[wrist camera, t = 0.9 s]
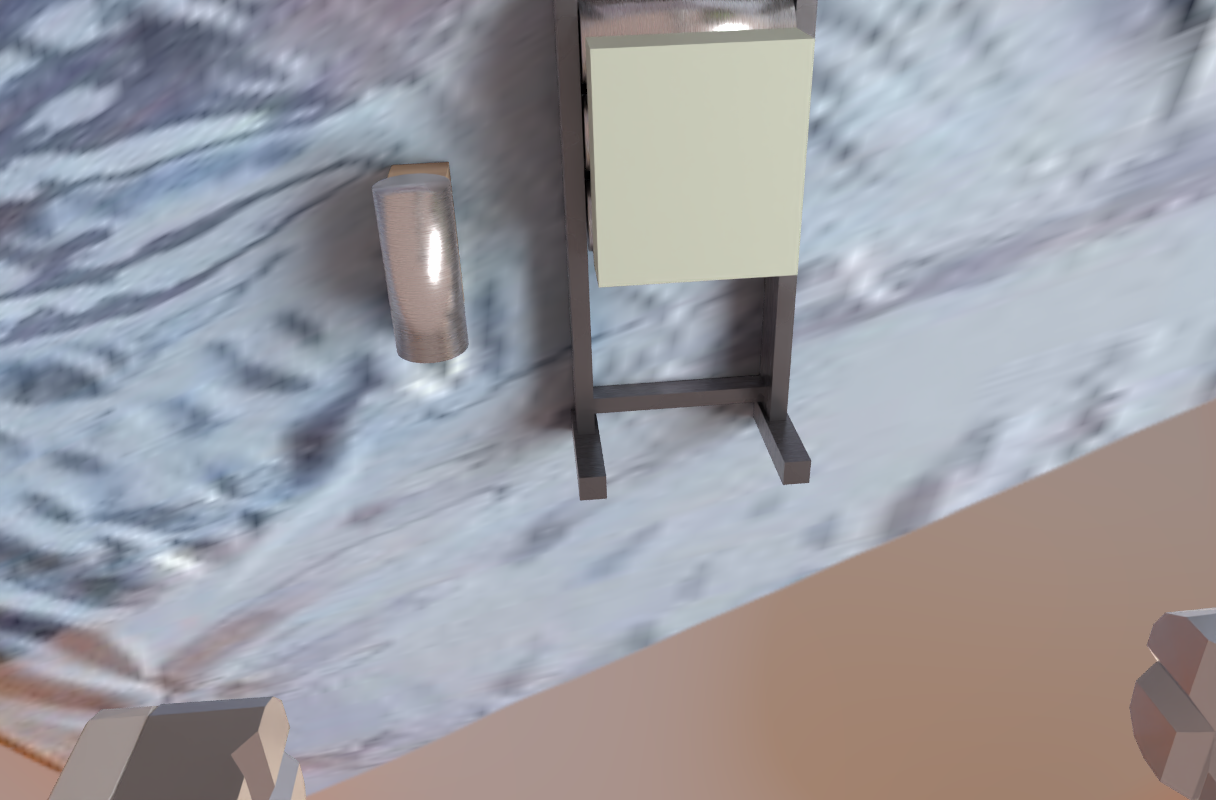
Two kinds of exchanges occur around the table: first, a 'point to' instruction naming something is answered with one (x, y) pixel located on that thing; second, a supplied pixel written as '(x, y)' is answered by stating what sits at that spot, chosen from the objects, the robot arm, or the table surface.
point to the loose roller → (421, 266)
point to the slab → (697, 154)
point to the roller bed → (592, 9)
